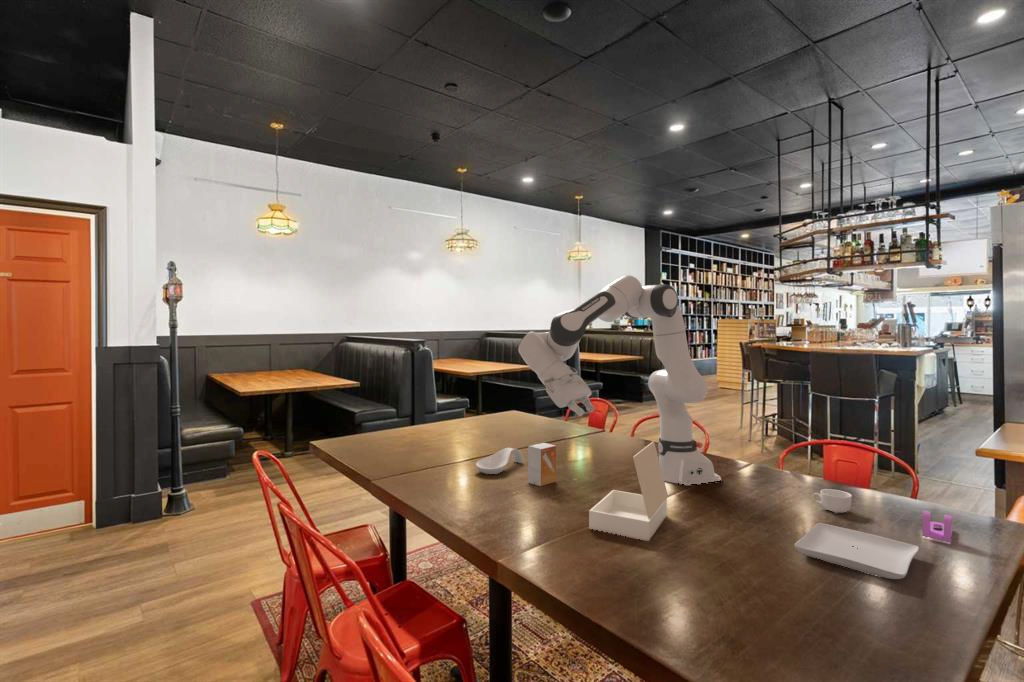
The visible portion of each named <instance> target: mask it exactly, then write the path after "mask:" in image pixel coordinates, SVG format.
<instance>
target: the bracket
mask: <svg viewBox="0 0 1024 682" xmlns="http://www.w3.org/2000/svg"><path fill="white" fill-rule="evenodd" d="M931 514H932V513H931V511H929V510H922V520H921V521H922V524H921V525H922V526H921V527H922V530H921V533H922V535H921V537H922V536H925V537H930V538H933V539H937V540H941V541H946V542H950V543H951V544H952V539H951V537H952V538H953V527H952V526H953V522H952V521H953V516H952V515H950V514H949V515H948V514H944V515H943V522H939V521H931ZM934 526H939V527H942V528H943V530H937V529H933V528H934Z"/></svg>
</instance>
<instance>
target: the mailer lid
mask: <svg viewBox="0 0 1024 682" xmlns="http://www.w3.org/2000/svg"><path fill="white" fill-rule="evenodd" d="M658 455H659V454H658V451H657V448H656V444H655V441H651V442H650V443H648V444H647V445H646V446H645V447H643V448H642V449H641V450H640V451H638V452H637V453H636V454H635V455H633V456H632V460H633V463H634V468H635V472H636V474H637V480H638V482H639V486H640V487H639V488H640V491H641V492H640V493H641V495H642V496H643V500H644V503H645V507H646V511H647V515H648V519H649V520H650V519H651V518H652V517H653V516H654V514H655V513H656V512H657V510H658V509H659V508H660V506H661V505H662V504H663V503H664V501H665V500H666V499H667V500H668V497H669V494H668V490H667V486H666V483H665V482H666V481H664V478H663V474H662V470H661V466H660V462H659V456H658Z"/></svg>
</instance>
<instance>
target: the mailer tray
mask: <svg viewBox="0 0 1024 682" xmlns="http://www.w3.org/2000/svg"><path fill="white" fill-rule="evenodd" d="M667 502H668V498H667V499H666V500H665V501H664V503H663V504H662V505H661V506H660V508H659V509H658V510H657V512H656V513H655V514H654V516H653V517H652V518H651V519H650V520H649V519H648V515H647V511H646V507H645V503H644V500H643V496H642V493H641V494H640V493H634V492H628V491H621V490H615V489H612V490H611V491H610V492H608V494H607V495H605V496H604V497H602V499H601V500H600V501H599V502H597V503H596V504H595V505H594V506H592V507H591V509H589V510H588V525H589V526H588V529H589V530H592V529H593V530H592V531H596V530H598V531H597V532H601V531H603V532H602V533H606V532H608V533H607V534H611V533H612V534H611V535H615V534H617V535H616V536H620V535H621V536H620V537H625V536H626V537H625V538H629V539H630V538H631V539H634V540H639V539H640V540H641V541H645V542H650V541H651V539H652V537H653V536H654V534H656V532H657V530H658V529H659V528H660V526H661V525H662V523H663V522H664V520H665V519H666V518H667V512H668V511H667V510H668V509H667V508H668V506H667V505H668V503H667Z"/></svg>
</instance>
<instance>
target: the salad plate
mask: <svg viewBox="0 0 1024 682" xmlns="http://www.w3.org/2000/svg"><path fill="white" fill-rule="evenodd" d="M852 546H854V547H852ZM794 547H795V549H797V551H799V552H800V553H802V554H804V555H806V556H808V557H809V558H810V557H811V558H814V559H816V558H817V559H816V560H818V559H821V560H824V561H828V562H831V563H835V564H838V565H841V566H845V567H848V568H852V569H856V570H859V571H863V572H866V573H869V574H873V575H877V576H880V577H879V578H881V577H885V578H884V579H888V580H889V579H890V580H900V579H904V578H905V577H906V576H907V575H908V571H909V569H910V565H911V564H912V560H913V559H914V558H915V556H916V555H917V554H918V552H919V550H920V547H919V546H918V545H915V544H911V543H908V542H905V541H899V540H895V539H892V538H888V537H884V536H880V535H877V534H872V533H867V532H863V531H859V530H854V529H852V528H851V529H850V528H846V527H842V526H836V525H833V524H827V523H825V522H823V523H822V522H817V523H816V524H814V526H813V527H812V528H810V530H808V531H807V532H806V533H805V534H804V535H803V536H802V537H801V538H800V539H799V540H797V541H796V542H795V543H794ZM857 548H858V549H857ZM821 560H820V561H821ZM824 561H823V562H824ZM828 562H827V563H828ZM831 563H830V564H831ZM838 565H837V566H838ZM841 566H840V567H841ZM845 567H844V568H845ZM848 568H847V569H848ZM852 569H851V570H852ZM859 571H858V572H859ZM866 573H865V574H866ZM869 574H868V575H869ZM873 575H872V576H873ZM877 576H876V577H877Z"/></svg>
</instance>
